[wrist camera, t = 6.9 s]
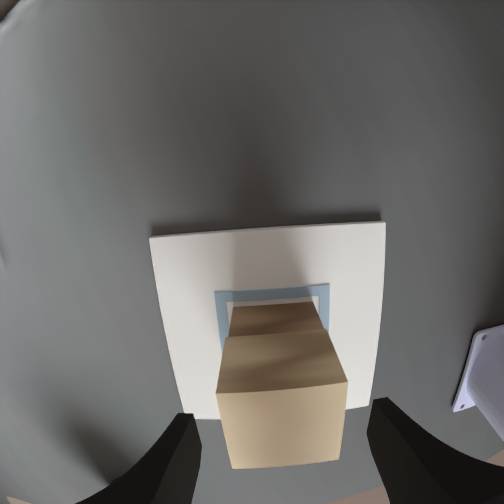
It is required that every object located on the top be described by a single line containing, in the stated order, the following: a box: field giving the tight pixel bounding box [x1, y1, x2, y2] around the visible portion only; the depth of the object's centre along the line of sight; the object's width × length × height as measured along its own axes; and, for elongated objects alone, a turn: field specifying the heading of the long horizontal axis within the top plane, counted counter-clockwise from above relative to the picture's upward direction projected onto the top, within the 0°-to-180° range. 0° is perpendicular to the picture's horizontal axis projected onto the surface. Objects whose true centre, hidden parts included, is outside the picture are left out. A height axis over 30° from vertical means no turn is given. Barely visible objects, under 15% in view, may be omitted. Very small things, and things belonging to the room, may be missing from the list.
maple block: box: [216, 329, 348, 469], centre depth 12 cm, size 4×4×4 cm
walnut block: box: [228, 301, 324, 337], centre depth 16 cm, size 4×4×4 cm
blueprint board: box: [149, 221, 386, 419], centre depth 19 cm, size 13×13×1 cm
